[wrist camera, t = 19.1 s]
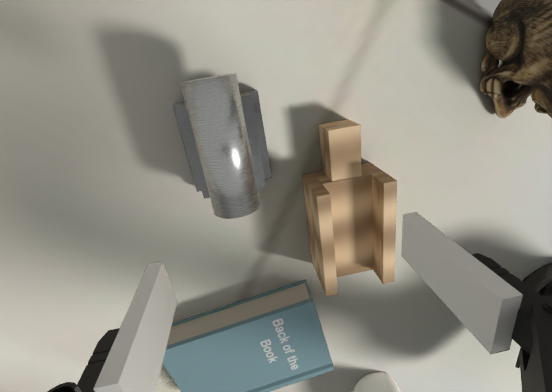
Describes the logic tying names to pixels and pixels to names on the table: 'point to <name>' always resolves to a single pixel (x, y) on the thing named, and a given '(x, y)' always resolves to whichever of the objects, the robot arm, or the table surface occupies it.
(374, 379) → the cup
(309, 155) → the table surface
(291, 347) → the book
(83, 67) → the table surface
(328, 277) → the beam
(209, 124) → the axle
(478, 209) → the table surface
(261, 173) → the v block
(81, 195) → the table surface
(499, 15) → the figurine
